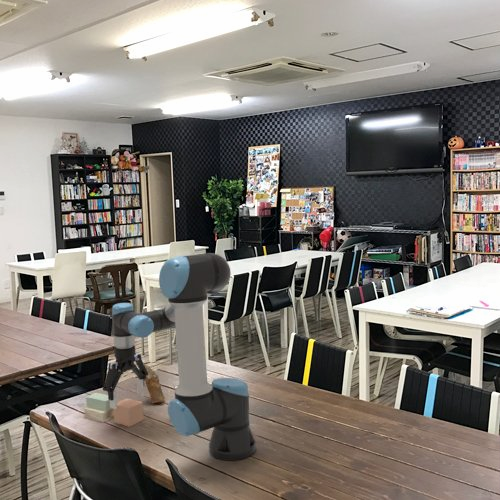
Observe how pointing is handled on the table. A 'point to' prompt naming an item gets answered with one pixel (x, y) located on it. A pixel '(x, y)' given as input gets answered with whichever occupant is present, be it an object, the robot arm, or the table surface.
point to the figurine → (153, 386)
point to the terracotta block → (128, 412)
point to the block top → (98, 402)
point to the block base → (98, 414)
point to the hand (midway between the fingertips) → (127, 401)
